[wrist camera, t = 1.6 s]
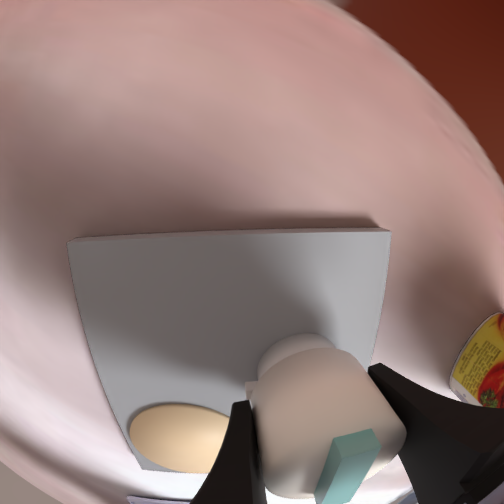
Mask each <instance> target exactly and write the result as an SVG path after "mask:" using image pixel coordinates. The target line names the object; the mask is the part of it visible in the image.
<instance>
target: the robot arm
mask: <svg viewBox="0 0 504 504" xmlns="http://www.w3.org/2000/svg"><path fill="white" fill-rule="evenodd" d="M368 375H369V376H370V378H371V379H372V380H373V382H374V383H375V385H376V386H377V387H378V389H379V390H380V392H381V393H382V394H383V396H384V397H385V399H386V400H387V401H388V403H389V404H390V406H391V407H392V409H393V410H394V411H395V413H396V414H397V416H398V417H399V419H400V420H401V421H402V423H403V424H404V426H405V428H406V432H407V434H406V439H405V442H404V444H403V446H402V448H401V450H400V451H399V452H398V455H399V457H400V459H401V461H402V464H403V466H404V468H405V470H406V472H407V474H408V477H409V479H410V482H411V484H412V486H413V489H414V492H415V494H416V497H417V500H418V503H419V504H504V408H492V407H484V406H477V405H473V404H468V403H464V402H460V401H457V400H454V399H451V398H448V397H445V396H442V395H440V394H437V393H435V392H433V391H430V390H428V389H426V388H424V387H422V386H420V385H418V384H416V383H414V382H412V381H411V380H409V379H407V378H405V377H404V376H402V375H400V374H398V373H397V372H395V371H393V370H392V369H390V368H388V367H387V366H385V365H383V364H382V363H378V364H375V365H373V366H370V367H368ZM127 500H128V502H129V503H130V504H267V500H266V493H265V485H264V479H263V473H262V468H261V462H260V456H259V450H258V444H257V438H256V432H255V425H254V419H253V413H252V408H251V405H250V402H249V400H244V401H239V402H234V403H233V404H232V408H231V414H230V419H229V423H228V427H227V430H226V433H225V436H224V439H223V442H222V445H221V448H220V450H219V453H218V455H217V457H216V460H215V462H214V464H213V466H212V468H211V470H210V472H209V474H208V476H207V478H206V480H205V481H204V483H203V485H202V486H201V488H200V489H199V491H198V492H197V494H196V495H195V497H194V498H193V500H192V501H191V502H178V501H166V500H156V499H148V498H140V497H134V496H127Z"/></svg>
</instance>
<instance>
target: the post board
mask: <svg viewBox="0 0 504 504" xmlns="http://www.w3.org/2000/svg"><path fill="white" fill-rule="evenodd" d="M391 234H392V232H391V231H389V230H386V229H383V228H294V229H253V230H221V231H194V232H171V233H150V234H131V235H113V236H97V237H81V238H75V239H73V240H71V241H69V242H67V243H66V244H67V251H68V257H69V263H70V269H71V275H72V280H73V285H74V290H75V294H76V299H77V303H78V308H79V312H80V316H81V320H82V323H83V327H84V331H85V334H86V338H87V341H88V344H89V348H90V351H91V354H92V357H93V360H94V363H95V366H96V369H97V372H98V375H99V377H100V380H101V383H102V385H103V388H104V391H105V393H106V396H107V398H108V401H109V403H110V405H111V408H112V410H113V412H114V415H115V417H116V419H117V421H118V423H119V426H120V428H121V430H122V432H123V434H124V436H125V438H126V440H127V442H128V444H129V446H130V448H131V450H132V452H133V454H134V456H135V457H136V459H137V461H138V463H139V465H140V466H141V468H142V470H151V471H162V472H176V473H209V472H210V470H211V468H212V466H213V464H214V462H215V460H216V457H217V455H218V453H219V450H220V448H221V445H222V442H223V439H224V436H225V433H226V430H227V427H228V423H229V419H230V414H231V408H232V404H233V403H234V402H239V401H244V400H249V402H250V405H251V396H252V392H253V389H254V387H255V385H256V383H257V382H258V380H259V379H260V378H261V376H262V375H263V374H264V373H265V372H266V371H267V370H268V369H269V368H271V367H272V366H273V365H275V364H276V363H278V362H279V361H281V360H283V359H284V358H286V357H288V356H290V355H293V354H295V353H298V352H301V351H305V350H309V349H314V348H336V349H340V350H344V351H346V352H348V353H350V354H352V355H353V356H354V357H355V358H356V359H357V360H358V361H359V362H360V364H361V365H362V366H363V368H364V369H365V371H366V372H367V373H368V367H369V366H370V362H371V358H372V354H373V350H374V345H375V341H376V336H377V331H378V326H379V321H380V316H381V311H382V305H383V299H384V292H385V286H386V279H387V271H388V263H389V255H390V245H391ZM251 408H252V407H251Z"/></svg>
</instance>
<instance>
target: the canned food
mask: <svg viewBox="0 0 504 504" xmlns="http://www.w3.org/2000/svg"><path fill="white" fill-rule="evenodd" d="M449 384H450V389H451V390H452V391H453V393H454V394H455V395H456V396H457V397H458V398H459V399H460V400H461V401H462V402H464V403H468V404H473V405H477V406H484V407H492V408H504V313H501V312H497V313H495V314H493V315H491V316H490V317H488V318H487V319H486V320H485V321H483V323H482V324H481V325H480V326H479V327H478V328H477V329H476V330H475V331H474V333H473V334H472V335H471V337H470V338H469V339H468V341H467V342H466V344H465V346H464V347H463V349H462V350H461V352H460V354H459V356H458V358H457V360H456V362H455V364H454V367H453V369H452V372H451V376H450V381H449Z"/></svg>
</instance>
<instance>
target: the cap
mask: <svg viewBox="0 0 504 504" xmlns="http://www.w3.org/2000/svg"><path fill="white" fill-rule="evenodd" d="M251 407H252V413H253V419H254V425H255V432H256V438H257V444H258V450H259V456H260V462H261V468H262V473H263V479H264V485H265V487H266V488H267V489H268V491H270V492H271V493H273V494H275V495H277V496H280V497H284V498H290V499H309V498H315V500H316V504H344V503H347V502H350V500H351V499H352V497H353V496H354V494H355V492H356V491H357V489H358V488H359V486H360V485H361V483H362V482H363V481H365V480H367V479H368V478H370V477H371V476H373V475H374V474H376V473H377V472H379V471H380V470H381V469H383V468H384V467H385V466H386V465H387V464H388V463H390V462H391V460H392V459H393V458H394V457H395V456H396V455H397V454H398V452H399V451H400V450H401V448H402V446H403V444H404V442H405V439H406V434H407V432H406V428H405V426H404V424H403V423H402V421H401V420H400V419H399V417H398V416H397V414H396V413H395V411H394V410H393V409H392V407H391V406H390V404H389V403H388V401H387V400H386V399H385V397H384V396H383V394H382V393H381V392H380V390H379V389H378V387H377V386H376V385H375V383H374V382H373V380H372V379H371V378H370V376H369V375H368V373H367V372H366V371H365V369H364V368H363V366H362V365H361V364H360V362H359V361H358V360H357V359H356V358H355V357H354V356H353V355H352V354H350V353H348V352H346V351H344V350H340V349H336V348H314V349H309V350H305V351H301V352H298V353H295V354H293V355H290V356H288V357H286V358H284V359H283V360H281V361H279V362H278V363H276V364H275V365H273V366H272V367H271V368H269V369H268V370H267V371H266V372H265V373H264V374H263V375H262V376H261V378H260V379H259V380H258V382H257V383H256V385H255V387H254V389H253V392H252V396H251Z"/></svg>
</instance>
